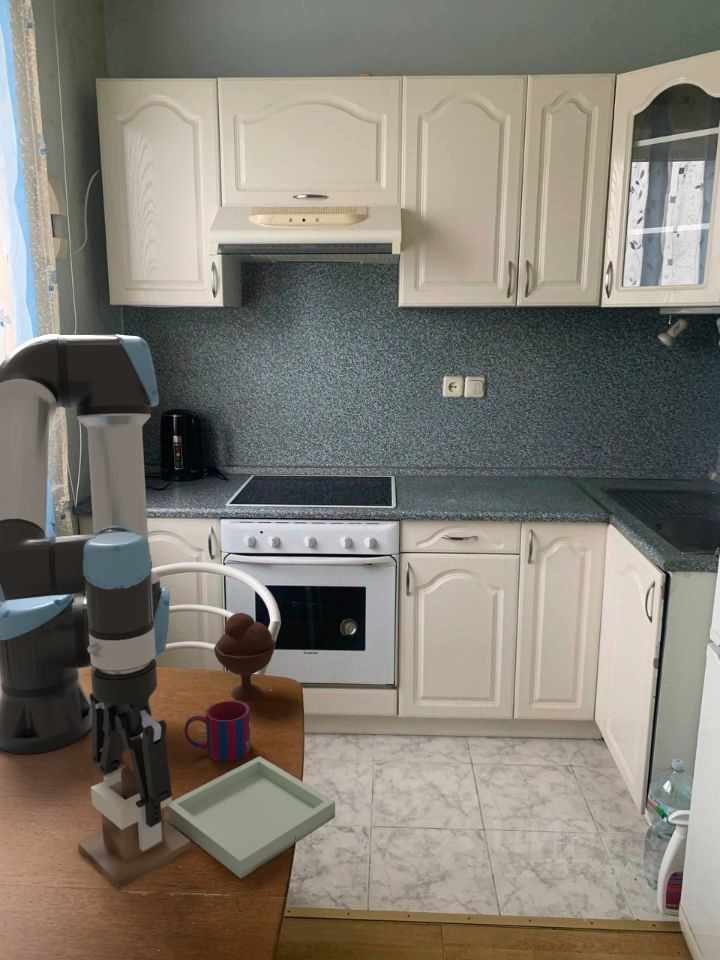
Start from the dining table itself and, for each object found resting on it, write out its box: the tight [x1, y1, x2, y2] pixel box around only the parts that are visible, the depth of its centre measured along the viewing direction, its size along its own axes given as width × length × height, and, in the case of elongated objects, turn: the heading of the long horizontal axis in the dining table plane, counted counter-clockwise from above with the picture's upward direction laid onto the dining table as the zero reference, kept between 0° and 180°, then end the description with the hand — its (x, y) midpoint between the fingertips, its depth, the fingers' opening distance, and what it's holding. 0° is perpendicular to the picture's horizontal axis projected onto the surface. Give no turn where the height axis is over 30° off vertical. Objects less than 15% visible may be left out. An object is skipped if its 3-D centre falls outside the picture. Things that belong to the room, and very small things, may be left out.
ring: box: [90, 773, 173, 830], centre depth 93 cm, size 7×7×2 cm
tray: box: [166, 756, 336, 879], centre depth 100 cm, size 16×16×2 cm
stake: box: [77, 764, 192, 890], centre depth 93 cm, size 10×10×11 cm
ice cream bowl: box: [213, 612, 277, 702], centre depth 134 cm, size 11×11×15 cm
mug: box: [184, 700, 251, 763], centre depth 116 cm, size 7×10×7 cm
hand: (133, 830), depth 94 cm, fingers closed on ring, 7 cm apart
